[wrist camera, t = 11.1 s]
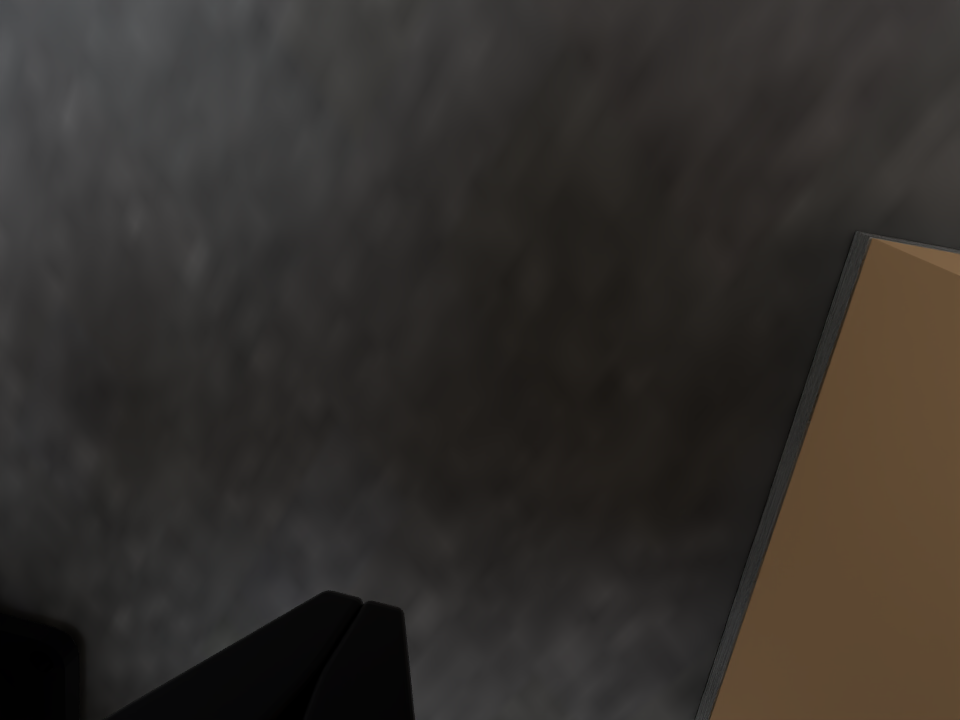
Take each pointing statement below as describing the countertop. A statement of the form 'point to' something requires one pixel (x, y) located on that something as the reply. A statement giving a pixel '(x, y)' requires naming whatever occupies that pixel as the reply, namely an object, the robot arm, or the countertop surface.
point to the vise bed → (792, 457)
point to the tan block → (868, 520)
